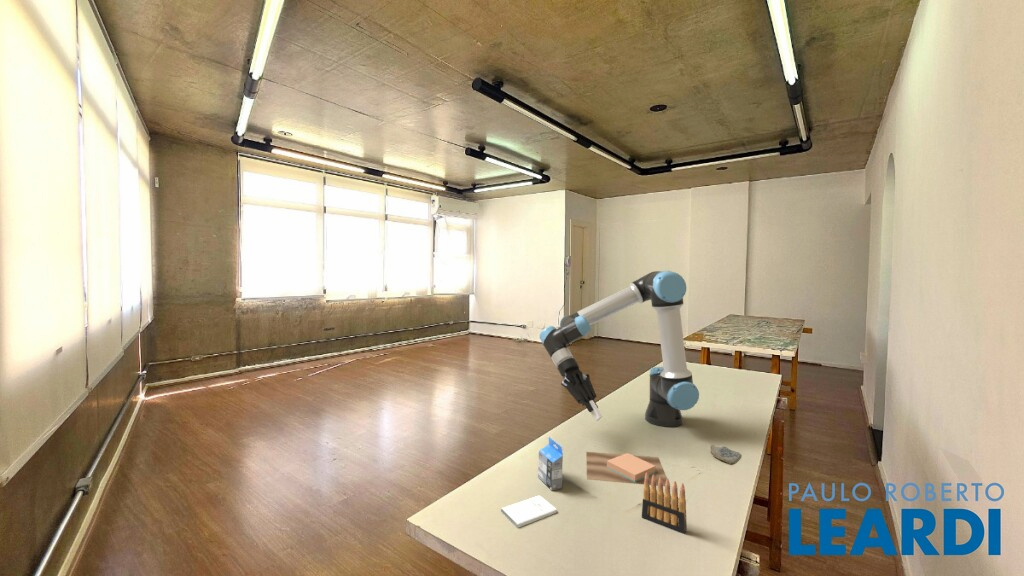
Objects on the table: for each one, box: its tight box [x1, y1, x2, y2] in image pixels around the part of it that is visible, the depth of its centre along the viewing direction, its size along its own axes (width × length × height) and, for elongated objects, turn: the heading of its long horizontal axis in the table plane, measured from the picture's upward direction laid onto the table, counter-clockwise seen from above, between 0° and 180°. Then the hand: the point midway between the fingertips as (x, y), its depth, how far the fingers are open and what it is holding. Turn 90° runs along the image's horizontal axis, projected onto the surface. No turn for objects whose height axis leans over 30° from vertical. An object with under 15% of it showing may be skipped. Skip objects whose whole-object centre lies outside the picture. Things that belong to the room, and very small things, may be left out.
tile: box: [607, 452, 656, 482], centre depth 127 cm, size 2×10×11 cm
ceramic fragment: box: [710, 444, 742, 465], centre depth 140 cm, size 11×3×10 cm
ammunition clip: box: [641, 472, 688, 535], centre depth 101 cm, size 11×2×12 cm, turn 52°
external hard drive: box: [500, 495, 558, 529], centre depth 107 cm, size 2×8×12 cm
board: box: [586, 451, 668, 487], centre depth 129 cm, size 19×24×1 cm
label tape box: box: [537, 436, 564, 491], centre depth 121 cm, size 9×4×12 cm, turn 23°
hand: (599, 418), depth 139 cm, fingers closed
